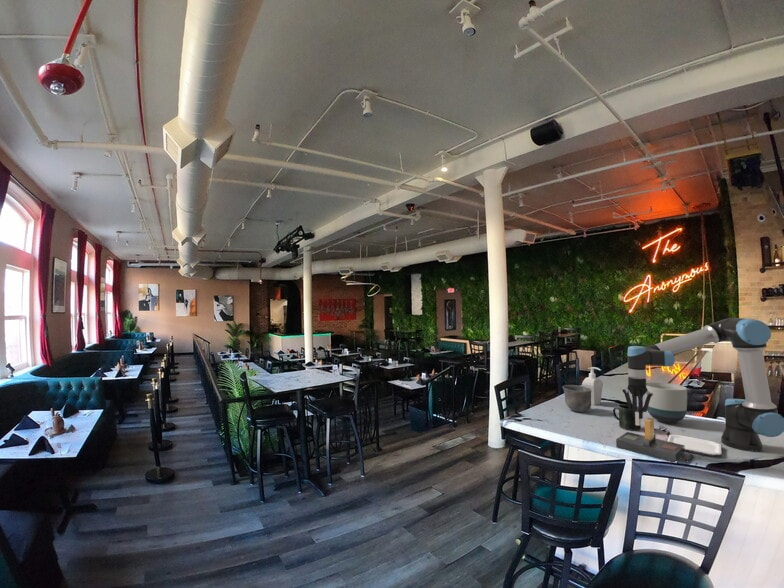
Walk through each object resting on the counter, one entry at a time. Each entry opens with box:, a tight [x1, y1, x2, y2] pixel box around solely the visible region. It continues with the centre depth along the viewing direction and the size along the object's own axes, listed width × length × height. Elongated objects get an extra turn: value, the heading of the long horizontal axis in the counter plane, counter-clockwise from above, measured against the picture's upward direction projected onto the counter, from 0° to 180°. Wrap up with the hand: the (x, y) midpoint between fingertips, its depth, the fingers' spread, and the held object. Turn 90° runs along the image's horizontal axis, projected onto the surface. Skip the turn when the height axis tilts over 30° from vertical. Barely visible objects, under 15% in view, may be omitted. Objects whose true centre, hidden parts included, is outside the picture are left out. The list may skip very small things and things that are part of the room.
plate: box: [666, 434, 723, 457], centre depth 183 cm, size 21×21×2 cm
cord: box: [685, 453, 694, 463], centre depth 169 cm, size 1×10×1 cm, turn 131°
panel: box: [615, 431, 686, 463], centre depth 179 cm, size 24×16×7 cm, turn 40°
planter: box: [644, 381, 688, 424], centre depth 222 cm, size 20×20×21 cm
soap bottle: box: [581, 366, 604, 406], centre depth 261 cm, size 12×10×26 cm
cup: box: [562, 384, 592, 413], centre depth 245 cm, size 18×18×15 cm
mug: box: [612, 404, 641, 432], centre depth 212 cm, size 11×15×12 cm
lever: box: [644, 417, 655, 442], centre depth 179 cm, size 2×8×11 cm, turn 130°
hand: (638, 424), depth 183 cm, fingers closed
